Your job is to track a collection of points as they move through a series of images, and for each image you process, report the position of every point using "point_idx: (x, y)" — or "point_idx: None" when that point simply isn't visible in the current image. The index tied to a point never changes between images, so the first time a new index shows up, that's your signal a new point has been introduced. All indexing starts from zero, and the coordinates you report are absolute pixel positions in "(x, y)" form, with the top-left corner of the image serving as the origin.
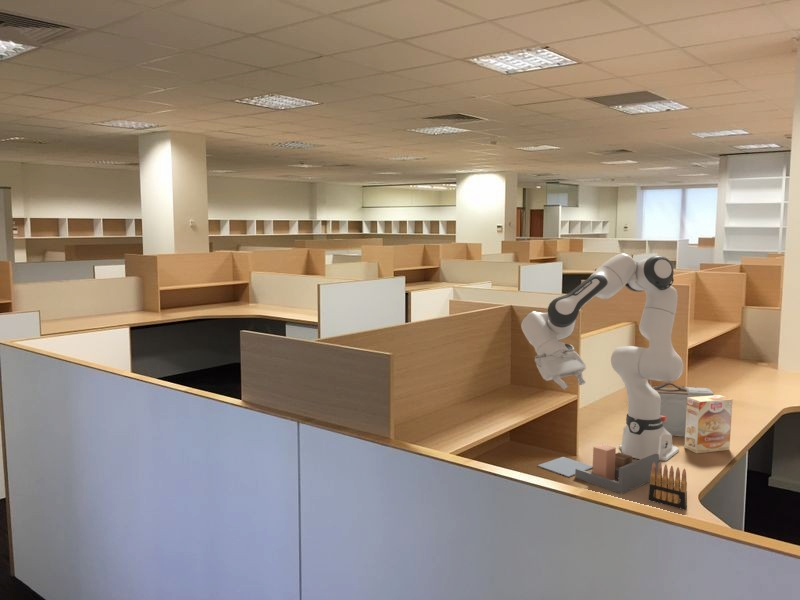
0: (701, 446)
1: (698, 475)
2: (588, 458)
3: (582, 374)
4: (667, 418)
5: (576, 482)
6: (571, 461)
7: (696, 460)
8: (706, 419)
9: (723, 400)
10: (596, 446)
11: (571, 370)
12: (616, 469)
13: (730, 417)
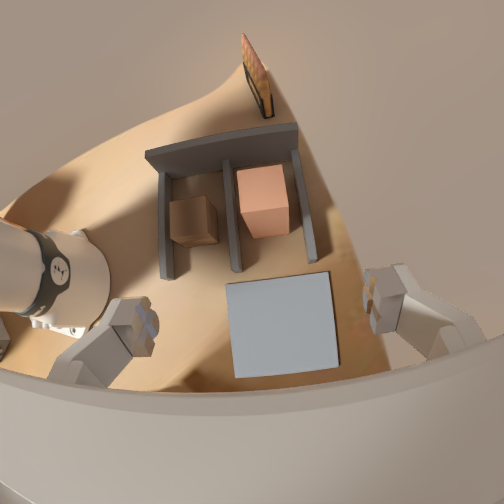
0: (18, 225)
1: (106, 157)
2: (185, 337)
3: (68, 348)
4: None
5: (333, 240)
6: (243, 342)
7: (52, 208)
8: None
9: None
10: (276, 205)
11: (185, 397)
12: (232, 204)
13: None
